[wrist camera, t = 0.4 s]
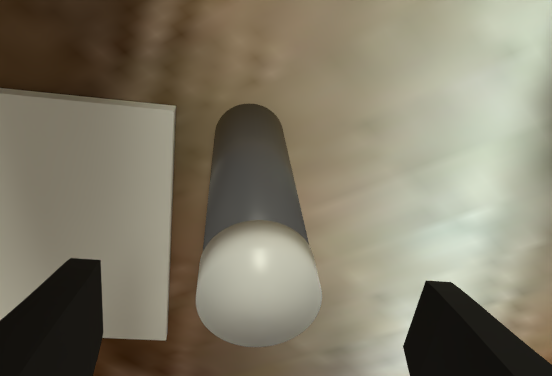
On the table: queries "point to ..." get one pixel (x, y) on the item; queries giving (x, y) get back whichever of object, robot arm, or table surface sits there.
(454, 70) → the table surface
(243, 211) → the cylinder
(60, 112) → the notepad
